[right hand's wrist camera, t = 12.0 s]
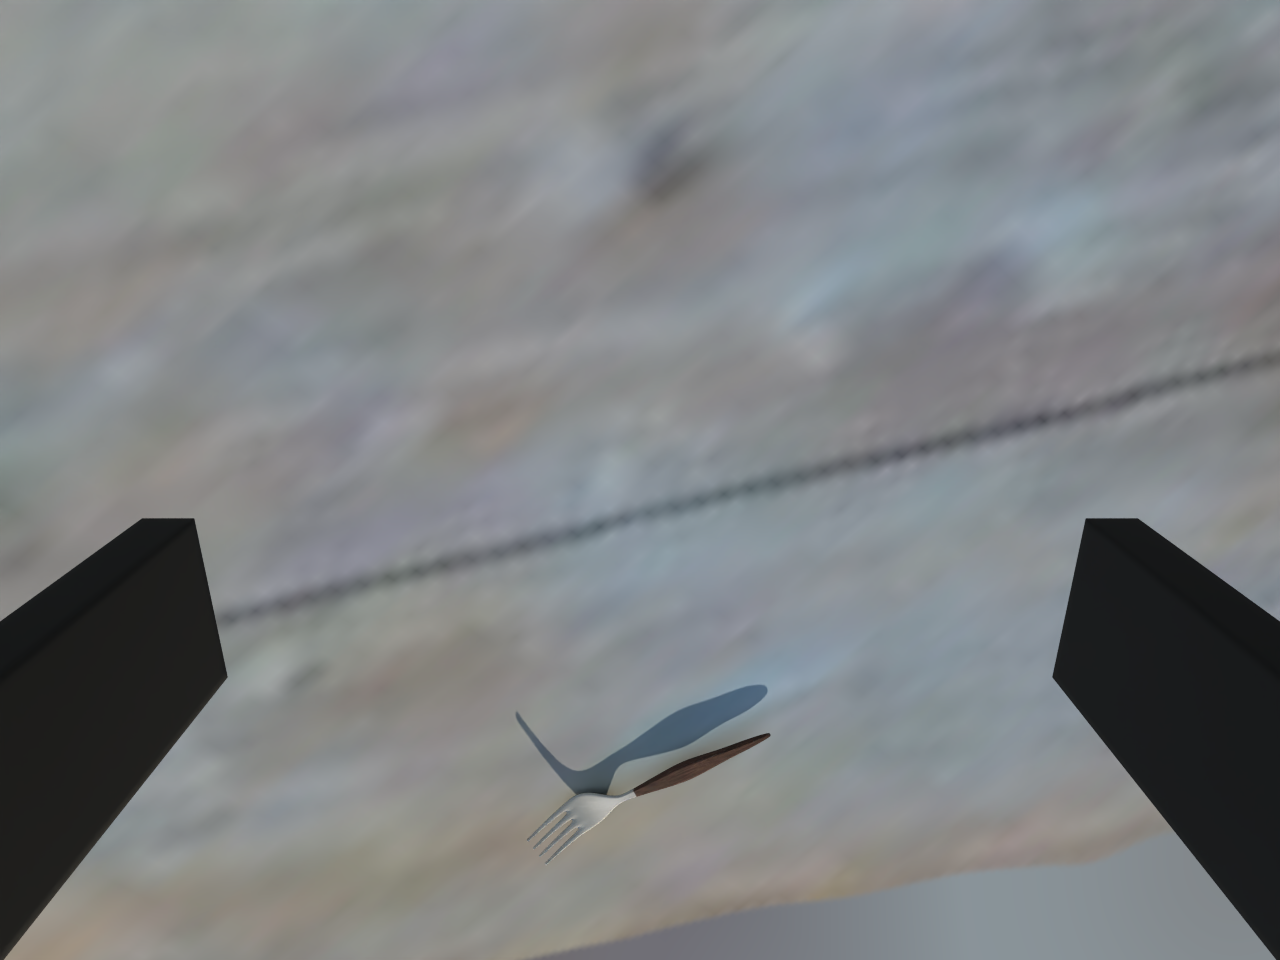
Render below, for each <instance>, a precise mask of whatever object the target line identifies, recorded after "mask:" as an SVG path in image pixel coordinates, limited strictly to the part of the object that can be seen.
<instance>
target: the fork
mask: <svg viewBox="0 0 1280 960" xmlns="http://www.w3.org/2000/svg"><path fill="white" fill-rule="evenodd" d="M770 736H771V735H770V733H767V734H763V735H759V736H756V737H753V738H750V739H747V740H744V741H741V742H738V743H736V744H733V745H730V746H727V747H725V748H722V749H719V750H716V751H713V752H710V753H707V754H703V755H700V756H697V757H694V758H691V759H688V760H686V761H683V762H681V763H679V764H677V765H675V766H673V767H671V768H669V769H667V770H665V771H664V772H662V773H660V774H658V775H657V776H655V777H653V778H651V779H650V780H648V781H646V782H644V783H643V784H641V785H639V786H637V787H636V788H634V789H632V790H630V791H628V792H626V793H624V794H622V795H618V796H610V795H603V794H598V793H581V794H578V795H576V796H574V797H572V798H571V799H569V800H568V801H567V802H566V803H565V804H563V805H562V806H561V807H560V808H559V809H558V810H557V811H556V812H555V813H553V814H552V815H551V816H550V817H549V818H548V819H547V820H546V821H545V822H544V823H543V824H542V825H541V826H540V827H539V828H538V829H537V830H536V831H535V832H534V833H533V834H532V835H531V836H530V837H529V838H528V839H527V841H530V839H531V838H533V837H534V836H535V835H536V834H537V833H538V832H539V831H541V830H542V829H543V828H544V827H545V826H547V825H548V824H549V823H550V822H551V821H553V820H554V819H555V818H556V817H558V816H559V815H560V814H562V813H563V812H567V814H566V815H565V816H564V817H563V818H562V819H561V820H560V821H559V822H558V823H557V824H556V825H555V826H554V827H553V828H552V829H551V830H550V831H549V832H548V833H547V834H546V835H545V836H544V837H543V838H542V839H541V840H540V841H539V842H538V843H537V844H536V845H535V846H534V847H533V849H535V848H536V847H537V846H538V845H540V844H541V843H542V842H543V841H544V840H545V839H546V838H548V837H549V836H550V835H551V834H552V833H554V832H555V831H556V830H557V829H558V828H560V827H561V826H562V825H563V824H565V823H566V822H567V821H569V820H573V821H572V823H571V824H570V825H569V826H568V827H567V828H566V829H565V830H564V831H563V832H562V833H561V834H560V835H559V836H558V837H557V838H556V839H555V840H554V841H553V842H552V843H551V844H550V845H549V846H548V847H547V848H546V849H545V850H544V851H543V852H542V853H541V854H540V855H539V857H541V856H542V855H543V854H544V853H545V852H547V851H548V850H549V849H550V848H551V847H552V846H553V845H555V844H556V843H557V842H558V841H559V840H560V839H562V838H563V837H564V836H565V835H566V834H568V833H569V832H570V831H572V830H573V829H574V828H577V827H578V830H577V831H576V833H575V834H574V835H573V836H571V837H570V838H569V839H568V840H567V841H566V842H565V843H564V844H563V845H562V846H561V847H560V848H559V849H558V850H557V851H556V852H555V853H554V854H553V855H552V856H551V857H550V859H549V860H548V861H547V862H546V863H545V864H546V865H547V864H548V863H549V862H550V861H551V860H552V859H553V858H554V857H556V856H557V855H558V854H559V853H560V852H561V851H562V850H564V849H565V848H566V847H567V846H568V845H570V844H571V843H572V842H573V841H574V840H576V839H577V838H578V837H579V836H581V835H582V834H584V833H585V832H586V831H588V830H589V829H591V828H592V827H594V826H595V825H597V824H598V823H600V822H601V821H602V820H603V819H604V818H605V817H606V816H607V815H608V814H609V813H610V812H611V811H612V810H613V809H614V808H615V807H616V806H617V805H618V804H620V803H621V802H623V801H626V800H628V799H631V798H634V797H637V796H640V795H644V794H647V793H650V792H654V791H657V790H660V789H664V788H667V787H670V786H673V785H676V784H679V783H682V782H685V781H687V780H690V779H692V778H694V777H696V776H698V775H700V774H702V773H704V772H706V771H708V770H709V769H711V768H713V767H715V766H717V765H718V764H720V763H722V762H724V761H726V760H728V759H730V758H732V757H734V756H736V755H738V754H739V753H741V752H743V751H745V750H747V749H749V748H751V747H753V746H755V745H757V744H758V743H760V742H762V741H764V740H765V739H767V738H768V737H770Z"/></svg>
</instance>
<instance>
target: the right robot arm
mask: <svg viewBox="0 0 1280 960" xmlns="http://www.w3.org/2000/svg"><path fill="white" fill-rule="evenodd" d="M226 679H227V672H226V667H225V662H224V658H223V653H222V648H221V643H220V639H219V634H218V629H217V624H216V620H215V615H214V610H213V605H212V601H211V596H210V591H209V586H208V582H207V577H206V572H205V567H204V563H203V558H202V553H201V548H200V544H199V539H198V534H197V529H196V525H195V520H194V518H142V519H141V520H139V521H138V522H137V523H135V524H134V525H133V526H131V527H130V528H128V529H127V530H126V531H124V532H123V533H121V534H120V535H119V536H117V537H116V538H115V539H113V540H112V541H110V542H109V543H108V544H106V545H105V546H104V547H102V548H101V549H99V550H98V551H97V552H95V553H94V554H93V555H91V556H90V557H88V558H87V559H86V560H84V561H83V562H82V563H80V564H79V565H77V566H76V567H75V568H73V569H72V570H71V571H69V572H68V573H66V574H65V575H64V576H62V577H61V578H60V579H58V580H57V581H55V582H54V583H53V584H51V585H50V586H48V587H47V588H46V589H44V590H43V591H42V592H40V593H39V594H37V595H36V596H35V597H33V598H32V599H31V600H29V601H28V602H26V603H25V604H24V605H22V606H21V607H20V608H18V609H17V610H15V611H14V612H13V613H11V614H10V615H9V616H7V617H6V618H4V619H3V620H2V621H0V960H4V959H5V957H6V956H7V955H8V954H9V952H10V951H11V950H12V949H13V947H14V946H15V945H16V943H17V942H18V941H19V940H20V938H21V937H22V936H23V935H24V933H25V932H26V931H27V930H28V928H29V927H30V926H31V925H32V923H33V922H34V921H35V919H36V918H37V917H38V916H39V914H40V913H41V912H42V911H43V909H44V908H45V907H46V906H47V904H48V903H49V902H50V901H51V899H52V898H53V897H54V896H55V894H56V893H57V892H58V890H59V889H60V888H61V887H62V885H63V884H64V883H65V882H66V880H67V879H68V878H69V877H70V875H71V874H72V873H73V872H74V870H75V869H76V868H77V867H78V865H79V864H80V863H81V861H82V860H83V859H84V858H85V856H86V855H87V854H88V853H89V851H90V850H91V849H92V848H93V846H94V845H95V844H96V843H97V841H98V840H99V839H100V838H101V836H102V835H103V834H104V832H105V831H106V830H107V829H108V827H109V826H110V825H111V824H112V822H113V821H114V820H115V819H116V817H117V816H118V815H119V814H120V812H121V811H122V810H123V808H124V807H125V806H126V805H127V803H128V802H129V801H130V800H131V798H132V797H133V796H134V795H135V793H136V792H137V791H138V790H139V788H140V787H141V786H142V785H143V783H144V782H145V781H146V779H147V778H148V777H149V776H150V774H151V773H152V772H153V771H154V769H155V768H156V767H157V766H158V764H159V763H160V762H161V761H162V759H163V758H164V757H165V756H166V754H167V753H168V752H169V750H170V749H171V748H172V747H173V745H174V744H175V743H176V742H177V740H178V739H179V738H180V737H181V735H182V734H183V733H184V732H185V730H186V729H187V728H188V727H189V725H190V724H191V723H192V721H193V720H194V719H195V718H196V716H197V715H198V714H199V713H200V711H201V710H202V709H203V708H204V706H205V705H206V704H207V703H208V701H209V700H210V699H211V697H212V696H213V695H214V694H215V692H216V691H217V690H218V689H219V687H220V686H221V685H222V684H223V682H224V681H225V680H226ZM1053 679H1054V680H1055V681H1056V682H1057V684H1058V685H1059V686H1060V687H1061V689H1062V690H1063V691H1064V692H1065V694H1066V695H1067V696H1068V697H1069V699H1070V700H1071V701H1072V703H1073V704H1074V705H1075V706H1076V708H1077V709H1078V710H1079V711H1080V713H1081V714H1082V715H1083V716H1084V718H1085V719H1086V720H1087V721H1088V723H1089V724H1090V725H1091V727H1092V728H1093V729H1094V730H1095V732H1096V733H1097V734H1098V735H1099V737H1100V738H1101V739H1102V740H1103V742H1104V743H1105V744H1106V745H1107V747H1108V748H1109V749H1110V750H1111V752H1112V753H1113V754H1114V756H1115V757H1116V758H1117V759H1118V761H1119V762H1120V763H1121V764H1122V766H1123V767H1124V768H1125V769H1126V771H1127V772H1128V773H1129V774H1130V776H1131V777H1132V778H1133V779H1134V781H1135V782H1136V783H1137V785H1138V786H1139V787H1140V788H1141V790H1142V791H1143V792H1144V793H1145V795H1146V796H1147V797H1148V798H1149V800H1150V801H1151V802H1152V803H1153V805H1154V806H1155V807H1156V808H1157V810H1158V811H1159V812H1160V814H1161V815H1162V816H1163V817H1164V819H1165V820H1166V821H1167V822H1168V824H1169V825H1170V826H1171V827H1172V829H1173V830H1174V831H1175V832H1176V834H1177V835H1178V836H1179V837H1180V839H1181V840H1182V841H1183V843H1184V844H1185V845H1186V846H1187V848H1188V849H1189V850H1190V851H1191V853H1192V854H1193V855H1194V856H1195V858H1196V859H1197V860H1198V861H1199V863H1200V864H1201V865H1202V867H1203V868H1204V869H1205V870H1206V872H1207V873H1208V874H1209V875H1210V877H1211V878H1212V879H1213V880H1214V882H1215V883H1216V884H1217V885H1218V887H1219V888H1220V889H1221V890H1222V892H1223V893H1224V894H1225V895H1226V897H1227V898H1228V899H1229V901H1230V902H1231V903H1232V904H1233V905H1234V907H1235V908H1236V909H1237V911H1238V912H1239V913H1240V914H1241V916H1242V917H1243V918H1244V920H1245V921H1246V922H1247V923H1248V924H1249V926H1250V927H1251V928H1252V930H1253V931H1254V932H1255V933H1256V935H1257V936H1258V937H1259V938H1260V940H1261V941H1262V942H1263V943H1264V945H1265V946H1266V947H1267V948H1268V950H1269V951H1270V952H1271V954H1272V955H1273V956H1274V957H1275V959H1276V960H1280V621H1278V620H1277V619H1276V618H1274V617H1273V616H1271V615H1270V614H1269V613H1267V612H1266V611H1265V610H1263V609H1262V608H1260V607H1259V606H1258V605H1256V604H1255V603H1254V602H1252V601H1251V600H1249V599H1248V598H1247V597H1245V596H1244V595H1243V594H1241V593H1240V592H1238V591H1237V590H1236V589H1234V588H1233V587H1232V586H1230V585H1229V584H1227V583H1226V582H1225V581H1223V580H1222V579H1220V578H1219V577H1218V576H1216V575H1215V574H1214V573H1212V572H1211V571H1209V570H1208V569H1207V568H1205V567H1204V566H1203V565H1201V564H1200V563H1198V562H1197V561H1196V560H1194V559H1193V558H1192V557H1190V556H1189V555H1187V554H1186V553H1185V552H1183V551H1182V550H1181V549H1179V548H1178V547H1176V546H1175V545H1174V544H1172V543H1171V542H1170V541H1168V540H1167V539H1165V538H1164V537H1163V536H1161V535H1160V534H1159V533H1157V532H1156V531H1154V530H1153V529H1152V528H1150V527H1149V526H1147V525H1146V524H1145V523H1143V522H1142V521H1141V520H1139V519H1138V518H1086V520H1085V525H1084V529H1083V534H1082V539H1081V544H1080V548H1079V553H1078V558H1077V563H1076V567H1075V572H1074V577H1073V582H1072V586H1071V591H1070V596H1069V601H1068V605H1067V610H1066V615H1065V620H1064V624H1063V629H1062V634H1061V639H1060V643H1059V648H1058V653H1057V658H1056V662H1055V667H1054V672H1053Z"/></svg>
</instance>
